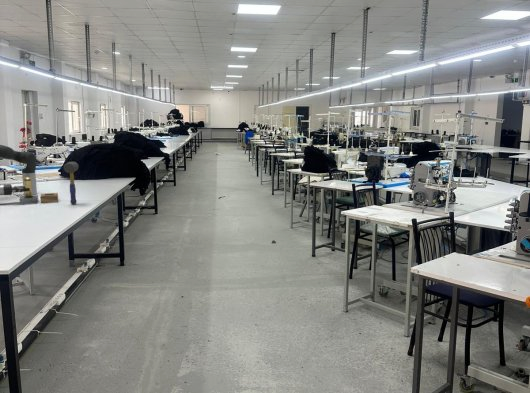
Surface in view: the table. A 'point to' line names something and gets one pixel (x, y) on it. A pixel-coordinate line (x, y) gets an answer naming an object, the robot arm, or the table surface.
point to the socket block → (29, 200)
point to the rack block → (49, 198)
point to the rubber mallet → (71, 179)
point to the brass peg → (28, 185)
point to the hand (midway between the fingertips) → (30, 188)
